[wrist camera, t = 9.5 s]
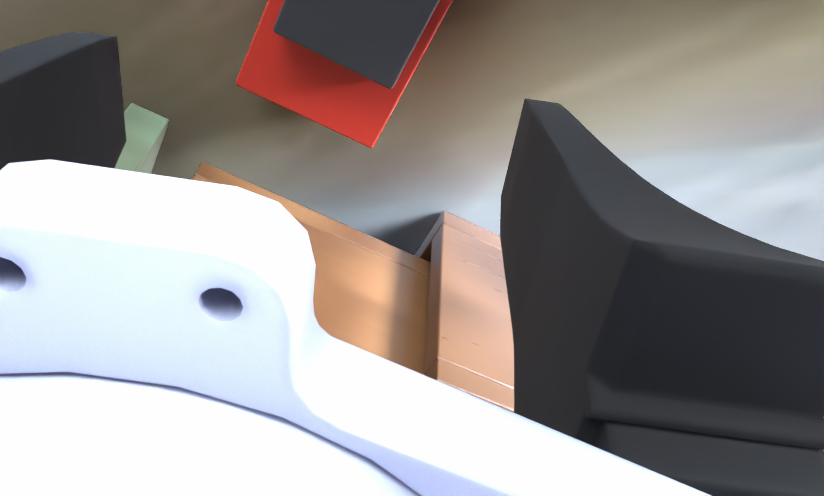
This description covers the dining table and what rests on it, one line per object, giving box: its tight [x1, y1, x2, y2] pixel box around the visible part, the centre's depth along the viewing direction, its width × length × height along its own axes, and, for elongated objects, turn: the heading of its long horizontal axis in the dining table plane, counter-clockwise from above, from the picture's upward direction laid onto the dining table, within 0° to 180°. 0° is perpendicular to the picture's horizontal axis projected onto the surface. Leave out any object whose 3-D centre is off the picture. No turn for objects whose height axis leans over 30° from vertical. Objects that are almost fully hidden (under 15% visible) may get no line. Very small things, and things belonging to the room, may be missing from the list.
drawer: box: [114, 103, 431, 375], centre depth 24 cm, size 17×11×6 cm, turn 63°
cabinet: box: [415, 211, 514, 413], centre depth 27 cm, size 13×12×8 cm
